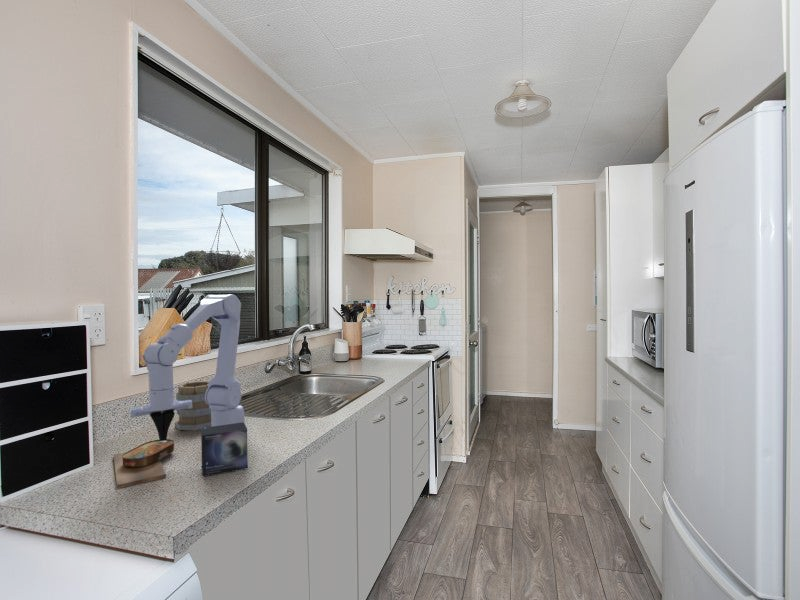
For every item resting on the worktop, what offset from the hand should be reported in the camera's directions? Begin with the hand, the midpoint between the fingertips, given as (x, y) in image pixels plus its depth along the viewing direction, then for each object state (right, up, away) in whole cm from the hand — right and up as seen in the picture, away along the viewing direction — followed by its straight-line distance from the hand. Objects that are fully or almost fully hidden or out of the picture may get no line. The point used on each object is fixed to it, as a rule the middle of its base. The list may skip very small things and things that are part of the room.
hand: (162, 439), depth 119 cm
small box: (+19, -6, -5) cm, 20 cm away
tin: (0, -4, 0) cm, 4 cm away
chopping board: (-5, -6, -3) cm, 8 cm away
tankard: (-3, -6, +35) cm, 36 cm away
